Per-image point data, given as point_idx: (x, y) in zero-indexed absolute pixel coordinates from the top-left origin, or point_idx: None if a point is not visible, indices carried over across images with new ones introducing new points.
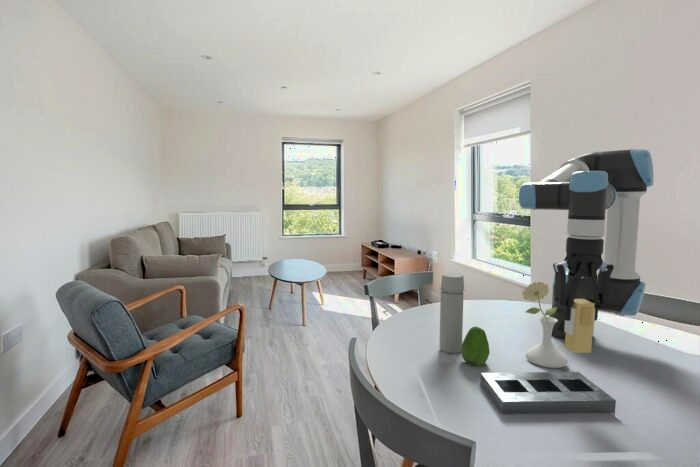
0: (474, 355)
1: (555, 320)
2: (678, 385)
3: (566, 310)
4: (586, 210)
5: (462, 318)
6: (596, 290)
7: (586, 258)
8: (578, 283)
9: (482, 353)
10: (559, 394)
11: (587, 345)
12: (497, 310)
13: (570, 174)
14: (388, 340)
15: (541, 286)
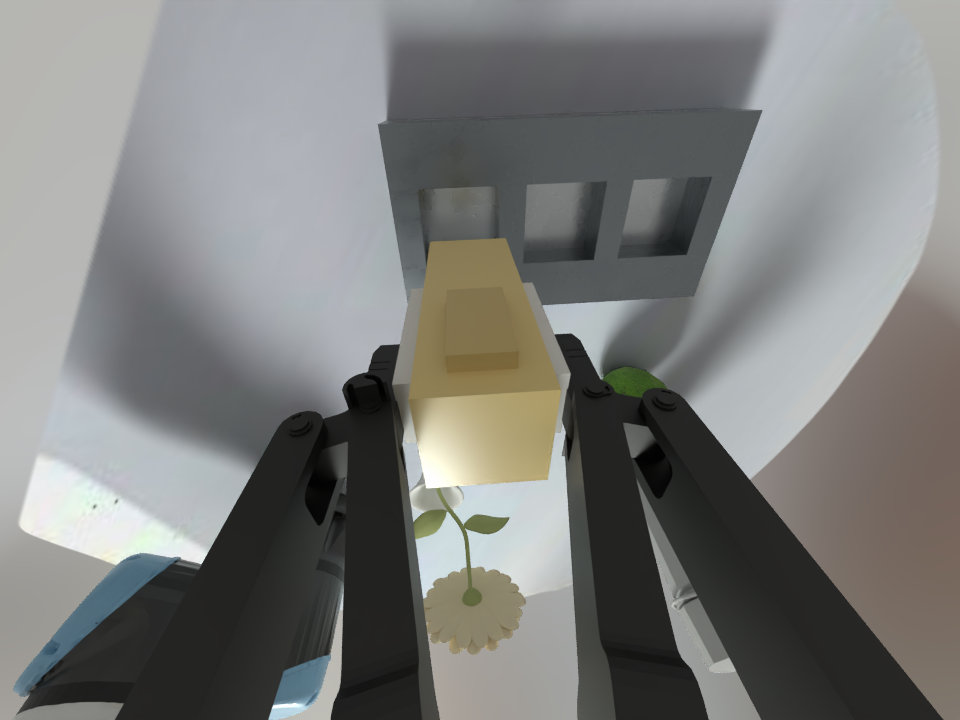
0: (653, 379)
1: (414, 494)
2: (125, 307)
3: (593, 374)
4: None
5: (643, 506)
6: (361, 528)
7: None
8: (596, 604)
9: (636, 383)
10: (547, 165)
11: (449, 252)
12: (433, 581)
13: None
14: None
15: (461, 629)
